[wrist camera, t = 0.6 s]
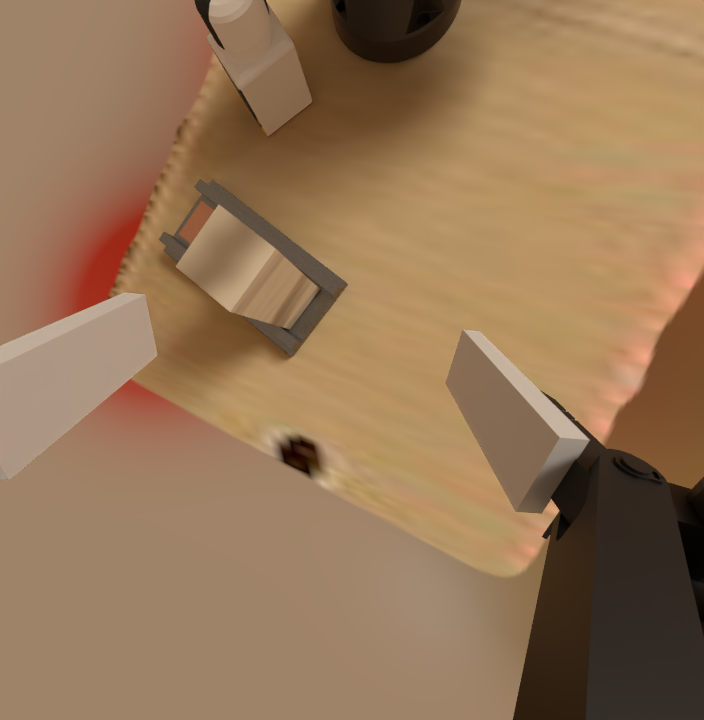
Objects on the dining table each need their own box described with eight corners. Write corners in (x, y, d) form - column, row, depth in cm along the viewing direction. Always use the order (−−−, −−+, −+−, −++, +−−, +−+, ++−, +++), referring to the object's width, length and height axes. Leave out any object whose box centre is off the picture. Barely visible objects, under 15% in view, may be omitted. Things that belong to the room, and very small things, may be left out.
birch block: (320, 289, 35) (275, 248, 23) (289, 329, 36) (229, 312, 23) (282, 259, 36) (218, 204, 23) (253, 299, 37) (175, 266, 24)
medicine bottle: (239, 95, 38) (168, -24, 26) (284, 58, 37) (232, -82, 26) (267, 138, 38) (208, 37, 26) (314, 102, 37) (274, -20, 25)
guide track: (347, 284, 36) (344, 279, 34) (293, 356, 37) (285, 355, 35) (216, 184, 39) (204, 171, 36) (169, 253, 40) (154, 246, 37)
